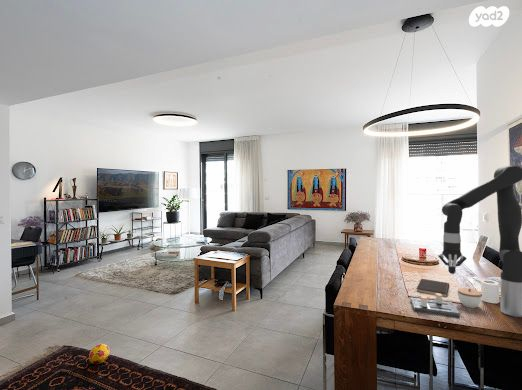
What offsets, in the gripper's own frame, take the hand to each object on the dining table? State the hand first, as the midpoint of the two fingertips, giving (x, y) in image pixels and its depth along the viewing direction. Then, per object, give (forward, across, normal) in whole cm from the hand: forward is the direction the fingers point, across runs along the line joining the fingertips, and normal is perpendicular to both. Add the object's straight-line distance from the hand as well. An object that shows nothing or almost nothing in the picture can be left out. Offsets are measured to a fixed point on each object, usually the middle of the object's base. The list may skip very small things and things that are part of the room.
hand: (451, 273), depth 146 cm
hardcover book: (+20, +3, -31) cm, 37 cm away
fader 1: (+16, +14, +7) cm, 23 cm away
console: (+19, +9, +3) cm, 21 cm away
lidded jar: (+19, -10, -8) cm, 23 cm away
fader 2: (+16, +6, 0) cm, 18 cm away
